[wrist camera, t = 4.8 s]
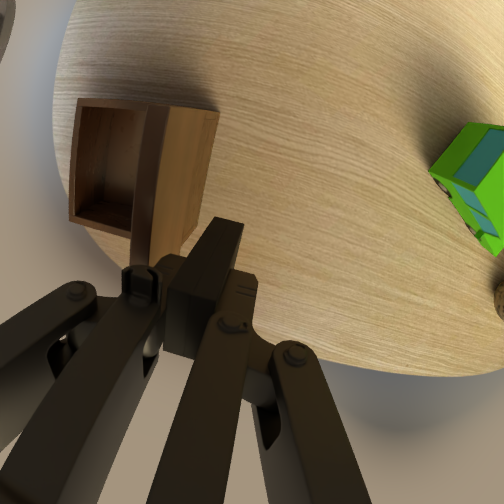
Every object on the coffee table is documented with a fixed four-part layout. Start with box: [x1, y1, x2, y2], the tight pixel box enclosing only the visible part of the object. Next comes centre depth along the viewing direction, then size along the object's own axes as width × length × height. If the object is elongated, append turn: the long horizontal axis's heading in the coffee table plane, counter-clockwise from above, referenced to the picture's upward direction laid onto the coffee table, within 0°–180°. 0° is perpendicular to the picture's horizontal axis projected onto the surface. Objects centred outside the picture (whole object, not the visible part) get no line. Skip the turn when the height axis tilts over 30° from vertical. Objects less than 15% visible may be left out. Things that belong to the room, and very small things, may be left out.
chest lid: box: [129, 104, 206, 267], centre depth 17 cm, size 13×13×1 cm
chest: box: [69, 98, 220, 246], centre depth 26 cm, size 13×13×7 cm
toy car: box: [428, 122, 504, 257], centre depth 21 cm, size 10×13×10 cm
